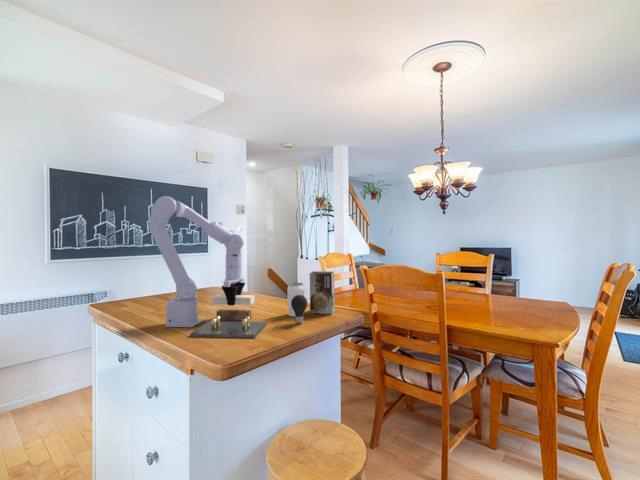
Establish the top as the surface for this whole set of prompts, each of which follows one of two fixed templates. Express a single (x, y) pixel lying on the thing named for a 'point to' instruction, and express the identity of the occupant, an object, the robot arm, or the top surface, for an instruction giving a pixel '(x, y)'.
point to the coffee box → (322, 292)
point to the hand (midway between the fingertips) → (233, 303)
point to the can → (292, 292)
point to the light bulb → (299, 307)
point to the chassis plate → (229, 329)
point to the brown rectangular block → (233, 314)
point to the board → (238, 299)
